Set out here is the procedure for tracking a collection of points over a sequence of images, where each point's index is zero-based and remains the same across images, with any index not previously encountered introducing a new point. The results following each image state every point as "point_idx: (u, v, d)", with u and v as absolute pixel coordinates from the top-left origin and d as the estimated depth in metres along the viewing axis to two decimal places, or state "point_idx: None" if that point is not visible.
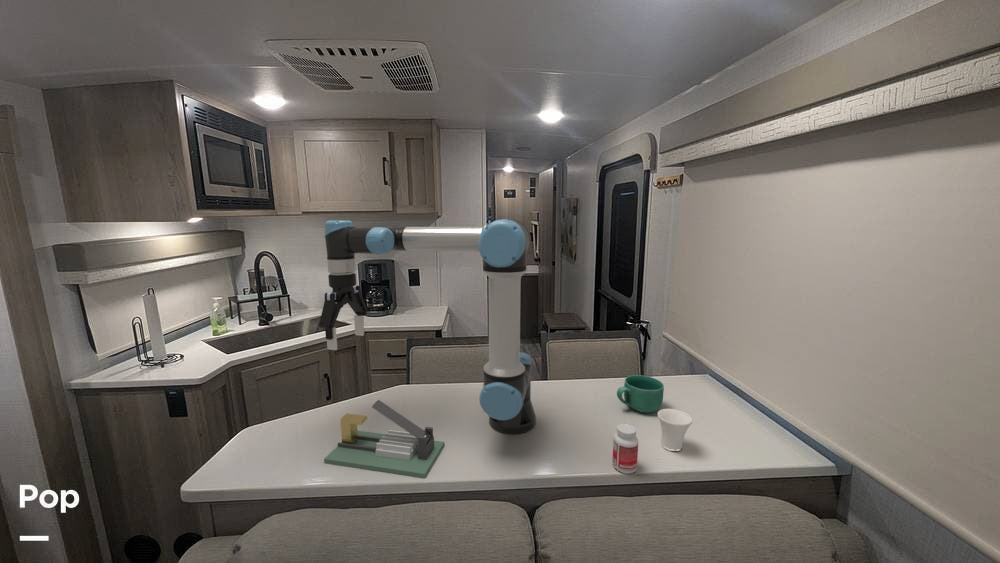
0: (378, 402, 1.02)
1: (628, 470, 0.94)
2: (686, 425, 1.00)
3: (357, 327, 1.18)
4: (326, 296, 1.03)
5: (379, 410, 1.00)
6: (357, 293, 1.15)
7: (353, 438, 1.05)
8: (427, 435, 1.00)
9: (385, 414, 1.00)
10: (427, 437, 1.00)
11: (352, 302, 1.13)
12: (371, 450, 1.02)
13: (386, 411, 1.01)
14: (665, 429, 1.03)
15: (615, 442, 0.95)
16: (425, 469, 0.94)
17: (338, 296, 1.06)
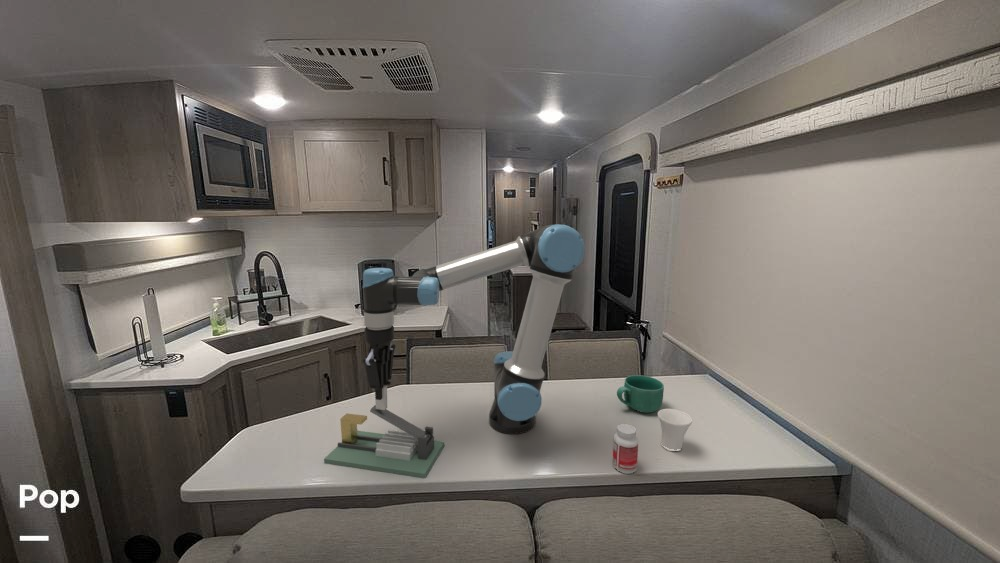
0: None
1: (628, 470, 0.94)
2: (686, 425, 1.00)
3: None
4: (365, 363, 0.93)
5: (377, 414, 1.01)
6: (390, 352, 1.03)
7: (353, 438, 1.05)
8: (427, 435, 1.00)
9: (383, 417, 1.00)
10: (427, 437, 1.00)
11: None
12: (371, 450, 1.02)
13: (384, 414, 1.01)
14: (665, 429, 1.03)
15: (615, 442, 0.95)
16: (425, 469, 0.94)
17: (376, 354, 0.96)
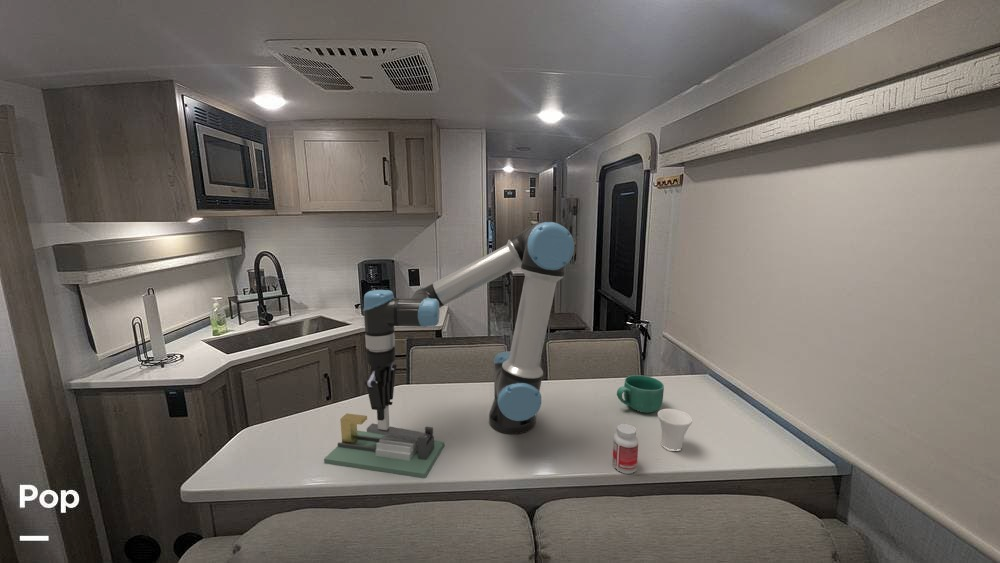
0: (372, 425, 1.04)
1: (628, 470, 0.94)
2: (686, 425, 1.00)
3: None
4: (367, 385, 0.94)
5: (374, 431, 1.02)
6: (391, 372, 1.04)
7: (353, 438, 1.05)
8: (426, 434, 1.00)
9: (380, 432, 1.01)
10: (426, 436, 1.00)
11: None
12: (371, 450, 1.02)
13: None
14: (665, 429, 1.03)
15: (615, 442, 0.95)
16: (425, 469, 0.94)
17: (378, 376, 0.96)
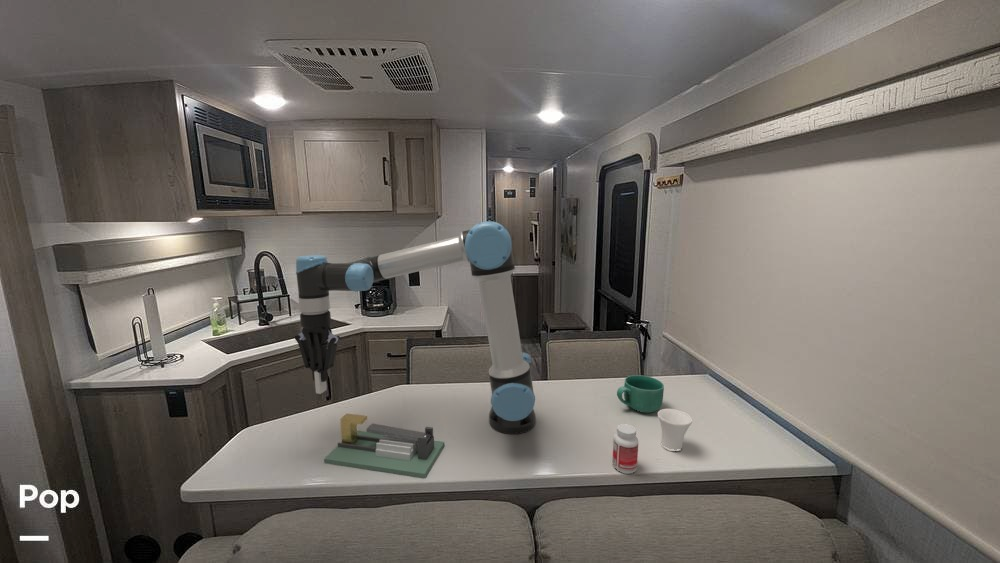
0: (372, 425, 1.04)
1: (628, 470, 0.94)
2: (686, 425, 1.00)
3: None
4: None
5: (374, 431, 1.02)
6: None
7: (353, 438, 1.05)
8: (426, 434, 1.00)
9: (380, 432, 1.01)
10: (426, 436, 1.00)
11: None
12: (371, 450, 1.02)
13: (381, 429, 1.02)
14: (665, 429, 1.03)
15: (615, 442, 0.95)
16: (425, 469, 0.94)
17: (304, 334, 1.02)
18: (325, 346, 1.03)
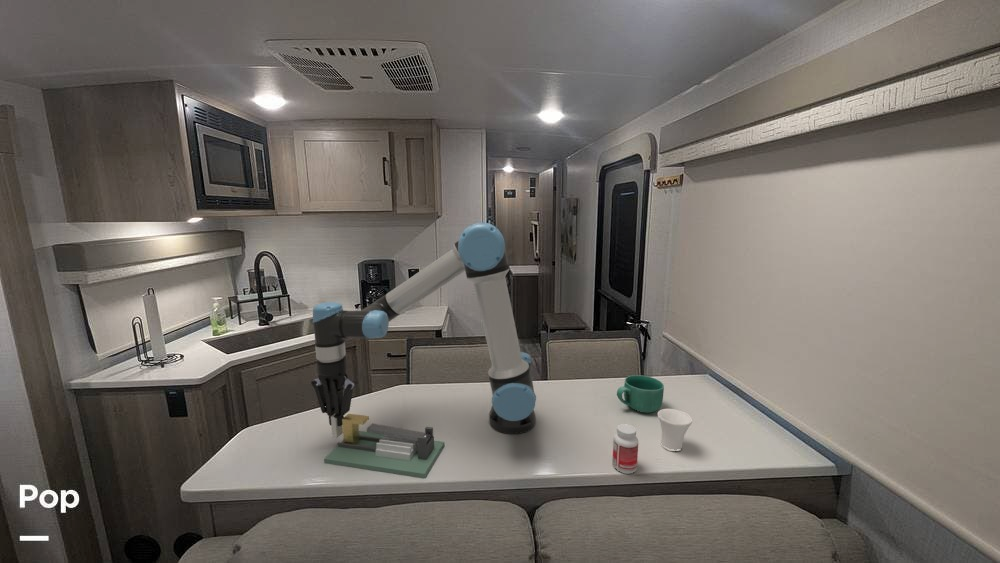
0: (372, 425, 1.04)
1: (628, 470, 0.94)
2: (686, 425, 1.00)
3: None
4: None
5: (374, 431, 1.02)
6: None
7: (355, 438, 1.05)
8: (426, 434, 1.00)
9: (380, 432, 1.01)
10: (426, 436, 1.00)
11: None
12: (371, 450, 1.02)
13: (381, 429, 1.02)
14: (665, 429, 1.03)
15: (615, 442, 0.95)
16: (425, 469, 0.94)
17: (320, 380, 1.03)
18: (341, 391, 1.04)
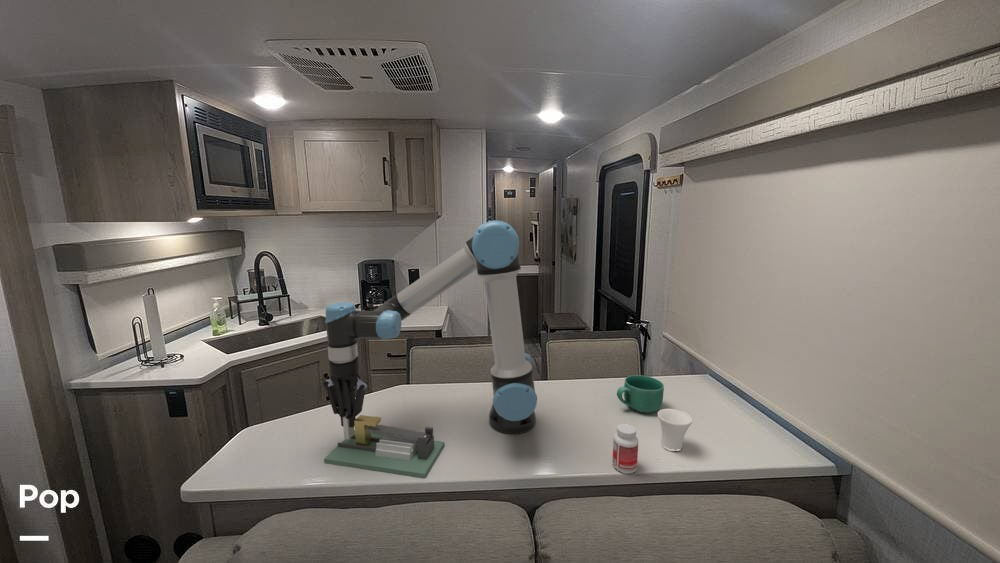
0: None
1: (628, 470, 0.94)
2: (686, 425, 1.00)
3: None
4: None
5: (374, 431, 1.02)
6: None
7: (367, 440, 1.04)
8: (426, 434, 1.00)
9: (380, 432, 1.01)
10: (426, 436, 1.00)
11: None
12: (371, 450, 1.02)
13: (381, 429, 1.02)
14: (665, 429, 1.03)
15: (615, 442, 0.95)
16: (425, 469, 0.94)
17: (332, 381, 1.03)
18: (353, 392, 1.04)
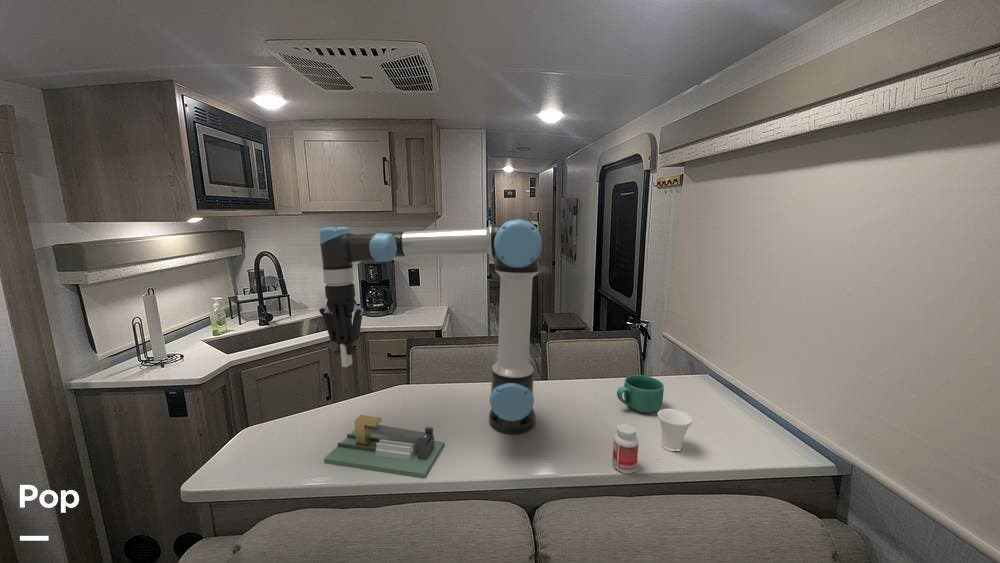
0: None
1: (628, 470, 0.94)
2: (686, 425, 1.00)
3: None
4: None
5: (374, 431, 1.02)
6: None
7: (367, 440, 1.04)
8: (426, 434, 1.00)
9: (380, 432, 1.01)
10: (426, 436, 1.00)
11: None
12: (371, 450, 1.02)
13: (381, 429, 1.02)
14: (665, 429, 1.03)
15: (615, 442, 0.95)
16: (425, 469, 0.94)
17: (329, 307, 1.02)
18: (350, 319, 1.03)
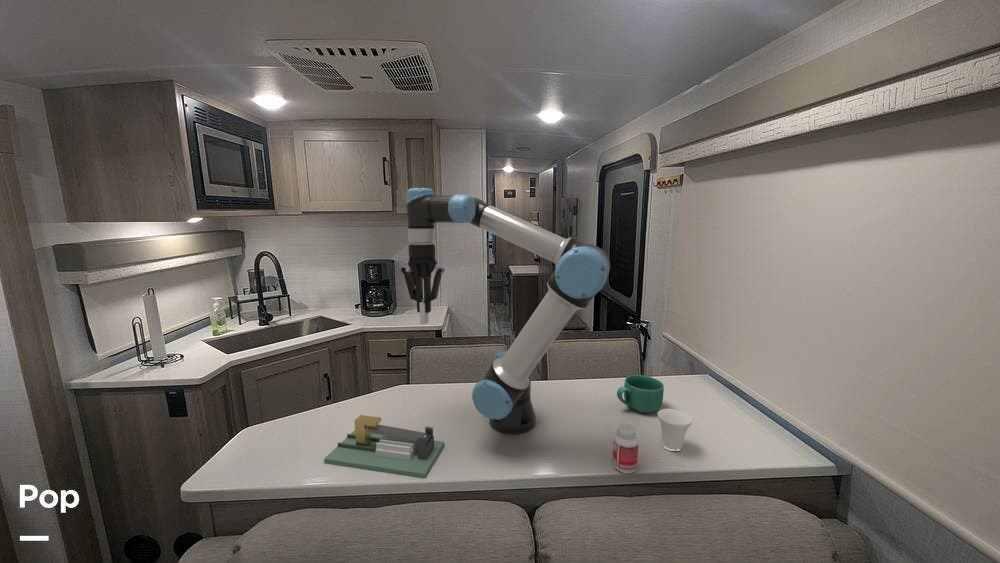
0: None
1: (628, 470, 0.94)
2: (686, 425, 1.00)
3: None
4: None
5: (374, 431, 1.02)
6: None
7: (367, 440, 1.04)
8: (426, 434, 1.00)
9: (380, 432, 1.01)
10: (426, 436, 1.00)
11: None
12: (371, 450, 1.02)
13: (381, 429, 1.02)
14: (665, 429, 1.03)
15: (615, 442, 0.95)
16: (425, 469, 0.94)
17: (410, 266, 1.06)
18: (429, 278, 1.07)
